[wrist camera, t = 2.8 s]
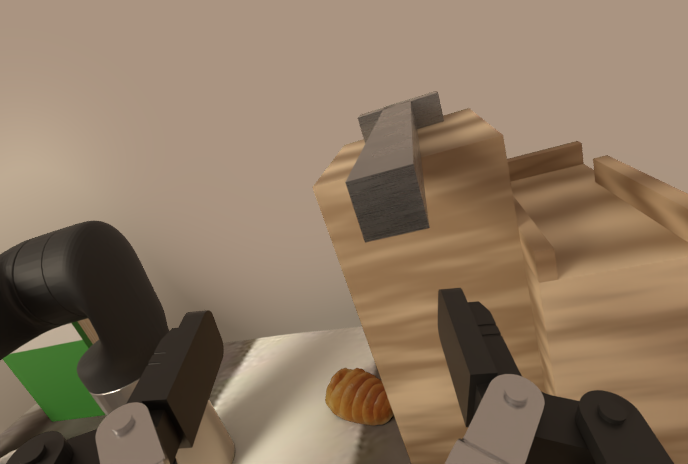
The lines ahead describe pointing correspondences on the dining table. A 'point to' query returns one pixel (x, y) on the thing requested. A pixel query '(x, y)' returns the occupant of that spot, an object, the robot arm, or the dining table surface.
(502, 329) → the stand
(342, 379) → the pastry
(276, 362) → the dining table surface
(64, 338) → the hardback book
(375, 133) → the t handle
